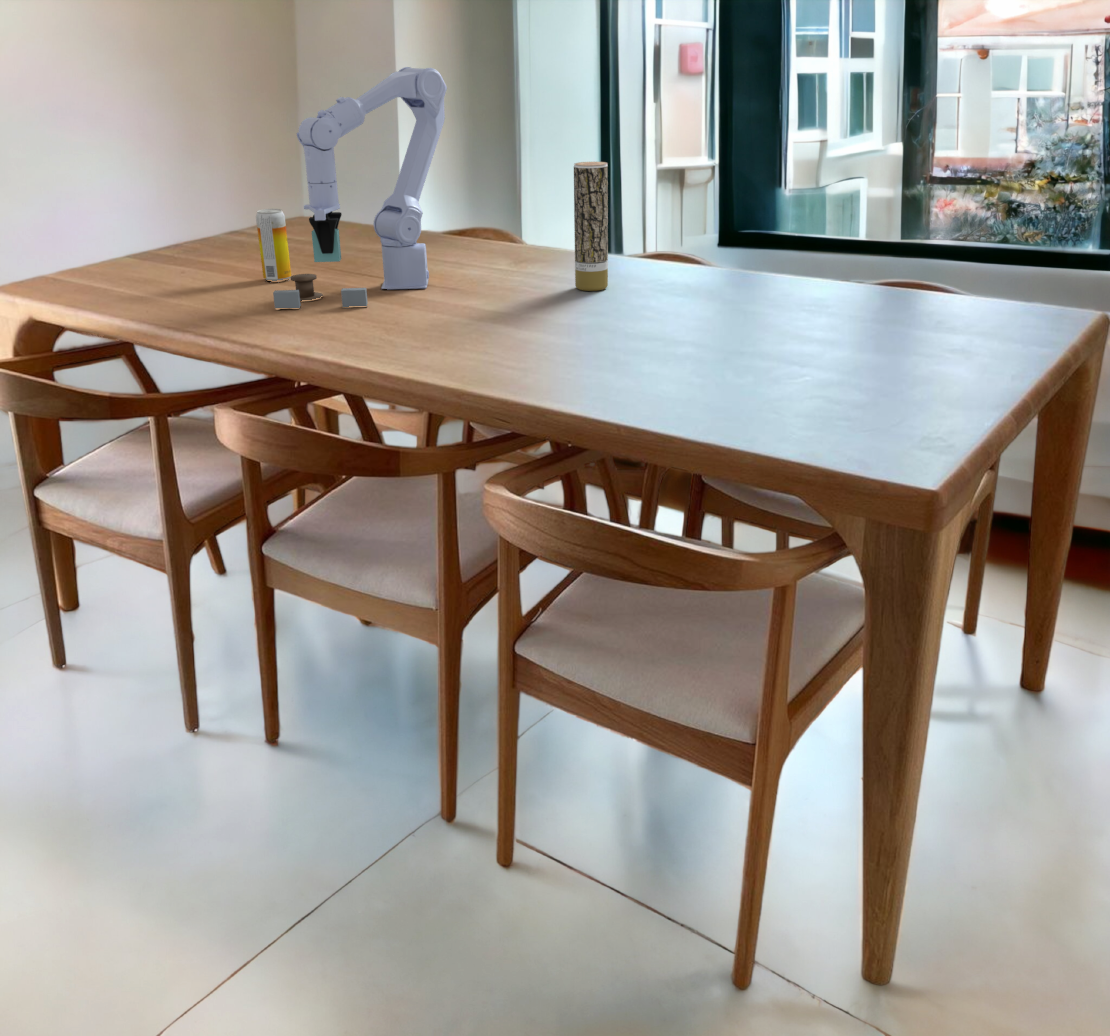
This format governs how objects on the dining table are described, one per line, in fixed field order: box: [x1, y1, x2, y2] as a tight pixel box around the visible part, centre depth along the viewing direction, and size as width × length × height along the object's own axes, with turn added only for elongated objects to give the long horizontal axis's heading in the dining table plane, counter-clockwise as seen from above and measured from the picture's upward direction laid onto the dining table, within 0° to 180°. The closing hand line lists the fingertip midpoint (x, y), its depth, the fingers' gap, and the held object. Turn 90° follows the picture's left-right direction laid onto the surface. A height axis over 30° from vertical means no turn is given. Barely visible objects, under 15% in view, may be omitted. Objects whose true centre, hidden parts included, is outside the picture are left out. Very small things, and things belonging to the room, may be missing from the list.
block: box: [311, 228, 342, 263], centre depth 230 cm, size 5×3×6 cm, turn 92°
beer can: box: [255, 208, 292, 281], centre depth 249 cm, size 6×6×15 cm
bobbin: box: [289, 273, 324, 301], centre depth 234 cm, size 7×7×4 cm
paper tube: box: [573, 161, 609, 292], centre depth 233 cm, size 7×7×25 cm
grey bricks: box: [272, 287, 369, 309], centre depth 226 cm, size 18×2×4 cm, turn 93°
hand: (328, 251), depth 230 cm, fingers closed on block, 3 cm apart
